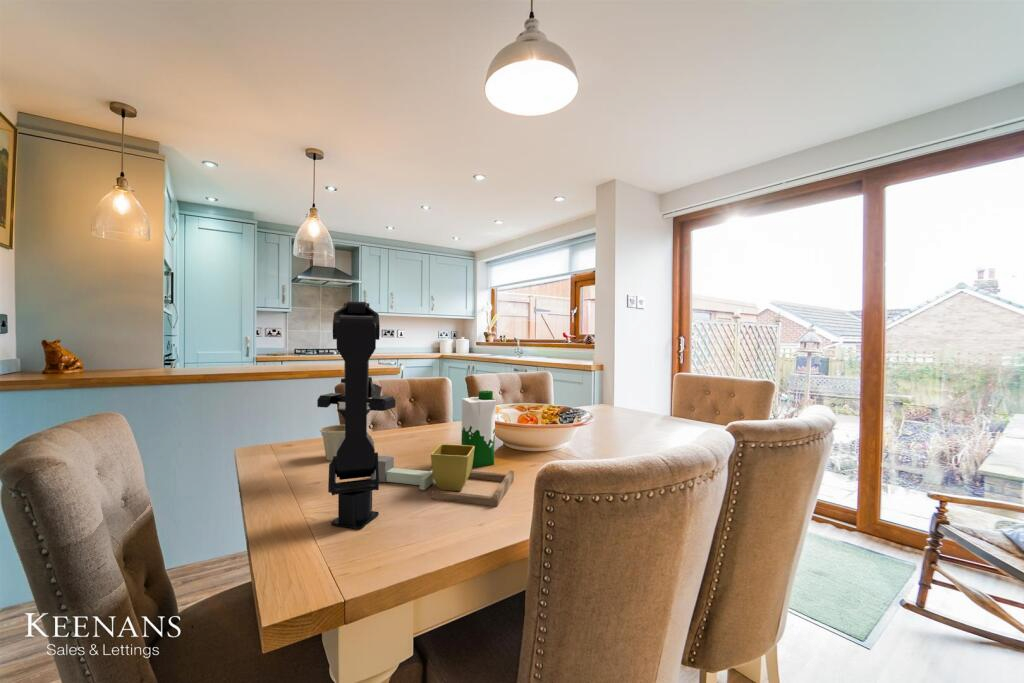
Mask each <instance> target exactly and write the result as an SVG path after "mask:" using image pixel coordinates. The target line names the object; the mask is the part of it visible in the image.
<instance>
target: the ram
mask: <svg viewBox="0 0 1024 683" xmlns="http://www.w3.org/2000/svg"><path fill="white" fill-rule="evenodd" d="M394 457H395V456H388V455H387V456H386V455H378V470H379V483H380V482H381V483H386V482H388V483H397V484H407V485H415V486H419V490H422V491H425V490H426V489H427V488H428V487H430V486H431V485H432V484H433V483H435V480H434V477H433V473H432V469H431V470H430V471H429V470H418V469H407V468H399V467H394V466H395V465H394V464H395V461H394V459H395V458H394ZM369 479H375V472H374V474H372V477H369Z"/></svg>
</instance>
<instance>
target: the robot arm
mask: <svg viewBox="0 0 1024 683" xmlns="http://www.w3.org/2000/svg"><path fill="white" fill-rule="evenodd" d="M380 324H381V323H380V315H379V313H378V312H377V311H375V310H374V309H372V308H371V307H370V303H369V302H366V301H348V300H347V301H346V302H343V307H341V308H340V309H338V310H337V311H335V312H333V319H332V339H333V340H336V350H337V351H338V352H337V353H339V355H340V356H341V358H342V359H343V361H344V366H343V369H344V370H343V372H344V375H343V376H344V378H341V379H340V383H341V384H343V385H344V386H343V388H344V391H343V393H339V392H338V393H337V392H335V393H334V392H331V393H330V392H329V393H326V394H322V395H319V396H318V398H317V400H316V401H317V404H316V406H317V408H329V407H330V406H331V405H339V406H338V408H337V410H336V411H337V412H339V413H340V414H341V416H342V418H343V419H344V421H345V422H344V425H345V434H344V436H343V437H342V438H341V440H340V441H339V444H338V447H337V456H333V460H332V461H330V463H329V465H328V480H327V481H328V482H327V483H328V491H327V492H328V493H330V494H331V496H335V495H337V496H338V497H337V498H338V499H337V500H338V502H337V503H338V504H337V505H338V506H337V507H338V508H337V510H338V511H337V512H338V513H337V515H338V516H337V517H336V518H335V519H333V520H332V521H330V522H331V523H330V525H331V526H335V527H343V528H348V529H349V528H350V529H356V530H360V529H363V528H364V527H365V526H366V525H368V524H369V523H370V522H372V521H373V520H374V519H375V518H377V517H379V514H380V513H379V511H376V510H375V511H374V510H373V491H379V486H380V485H379V483H380V482H379V470H378V456H379V452H378V451H377V452H376V451H375V442H374V440H373V438H372V436H371V435H370V434H369V433H368V432H367V429H368V428H367V426H368V420H367V419H368V417H367V416H368V415H369V413H370V412H371V411H374V412H375V411H377V412H385V411H388V410H391V409H393V408H396V399H395V397H394V396H392V395H381V394H382V386H381V385H378V384H376V383H373V378H372V376H369V375H370V372H369V370H370V369H369V368H370V366H369V365H370V363H369V362H370V359H371V357H372V355H373V354H374V352H375V351H376V346H377V344H376V343H377V340H378V341H379V340H380V335H381V334H380V333H381V332H380V331H381V330H380V329H381V328H380V327H381V326H380ZM374 472H375V479H370V477H372V474H374ZM337 478H339V482H337ZM361 478H366V479H361ZM367 478H368V479H367ZM352 479H353V480H352ZM354 479H358V480H354ZM341 480H347V481H341Z"/></svg>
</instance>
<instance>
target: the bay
mask: <svg viewBox="0 0 1024 683" xmlns="http://www.w3.org/2000/svg"><path fill="white" fill-rule="evenodd" d="M514 477H515V472H514V470H509V471H508V473H497V472H487V471H477V470H471V472H470V475H469V477H468V479H473V480H485V481H492V482H493V481H494V482H501V483H499V485H498V486H497V488H496V490H495V491H494V492H493V494H492V495H491V496H490V495H481V494H475V493H466V492H465V493H463V492H458V491H456V492H455V491H454V492H453V491H448V490H437V489H433V490H432V492H431V499H432V500H440V501H447V502H449V501H450V502H454V503H455V502H457V503H463V504H464V503H465V504H473V505H483V506H493V507H498V506H499V505H500V503H501V501H502V500H503V498H504V497H505V496H506V494H507V492H508V490H509V489H510V487H511V486H512V484H513V483H514Z"/></svg>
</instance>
